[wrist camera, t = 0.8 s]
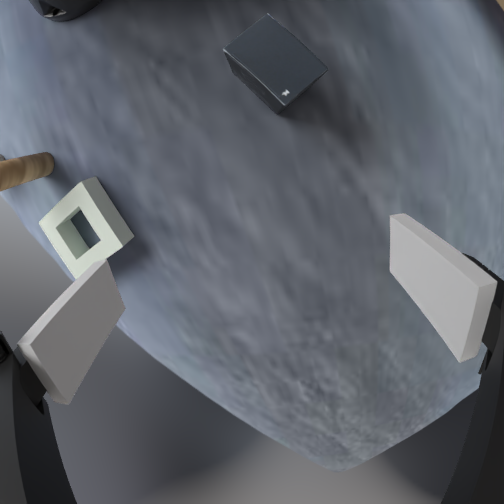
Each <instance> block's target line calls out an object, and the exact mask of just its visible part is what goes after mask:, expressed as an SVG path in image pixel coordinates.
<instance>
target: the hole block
mask: <svg viewBox="0 0 504 504" xmlns="http://www.w3.org/2000/svg"><path fill="white" fill-rule="evenodd" d="M80 210H82V212H83V214H84V215H85V217H86V218H87V220H88V221H89V223H90V225H91V226H92V228H93V229H94V231H95V232H96V234H97V235H98V237H99V238H100V240H101V241H100V242H98V243H97V244H96V245H94V246H93V247H92V248H91V249H89V247H88V246H87V244H86V243H85V241H84V240H83V238H82V237H81V235H80V234H79V232H78V231H77V229H76V228H75V226H74V225H73V223H72V221H71V220H70V219H71V218H72V217H73V216H74V215H75V214H77V213H78V212H79V211H80ZM39 224H40V226H41V227H42V229H43V231H44V232H45V234H46V236H47V237H48V239H49V240H50V242H51V243H52V245H53V246H54V248H55V250H56V251H57V253H58V254H59V256H60V257H61V259H62V260H63V262H64V263H65V264H66V266H67V267H68V269H69V270H70V272H71V273H72V274H73V276H74V277H75V279H76V280H77V279H78V278H79V277H80V276H81V275H82V274H83V273H84V272H85V271H86V270H87V269H88V268H89V267H90V266H91V265H92V264H93V263H94V262H96V261H102V260H105V259H106V258H108V257H109V256H111V255H112V254H113V253H115V252H116V251H118V250H119V249H121V248H122V247H123V246H124V245H126V244H127V243H128V242H129V241H130V240H131V239H132V238H133V237H134V235H133V233H132V232H131V230H130V229H129V227H128V226H127V224H126V223H125V221H124V220H123V218H122V217H121V215H120V214H119V212H118V211H117V209H116V208H115V206H114V204H113V203H112V201H111V200H110V198H109V197H108V195H107V193H106V192H105V190H104V189H103V187H102V185H101V184H100V182H99V181H98V179H97V177H96V176H95V177H92V178H89V179H86V180H83V181H81V182H80V183H79V184H78V185H76V186H75V187H74V188H73V189H72V190H71V191H70V192H69V193H68V194H67V195H66V196H65V197H64V198H63V199H62V200H61V201H60V202H59V203H58V204H57V205H56V206H54V207H53V208H52V210H51V211H50V212H49V213H48V214H47V215H46V216H45V217H44V218H43V219H42V220H41V221H40V222H39Z"/></svg>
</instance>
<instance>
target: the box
mask: <svg viewBox="0 0 504 504" xmlns="http://www.w3.org/2000/svg"><path fill="white" fill-rule="evenodd" d="M223 51H224V53H225V55H226V57H227V60H228V62H229V64H230V67H231V69H232V72H233V73H234V74H235V75H236V76H237V77H238V78H239V79H240V80H241V81H242V82H243V83H244V84H246V86H248V87H249V88H250V89H251V90H252V91H253V92H254V93H255V94H256V95H257V96H258V97H259V98H260V99H261V100H262V101H263V102H264V103H265V104H266V105H267V106H268V107H269V108H270V109H271V110H272V111H274V112H275V113H276V114H279V113H280V112H281V111H282V110H283V109H285V108H286V107H287V106H288V105H289V104H290V103H291V102H293V101H294V100H295V99H296V98H297V97H298V96H300V95H301V94H302V93H303V92H304V91H306V90H307V89H308V88H309V87H310V86H311V85H313V84H314V83H315V82H316V81H317V80H318V79H319V78H320V77H321V76H322V75H323V74H324V73H325V72H326V71H327V70H328V68H327V67H326V66H325V65H324V64H323V63H322V62H321V61H320V60H319V59H318V58H317V57H316V56H315V55H314V54H313V53H312V52H311V51H310V50H309V49H308V48H307V47H306V46H304V45H303V44H302V43H301V42H300V41H299V40H298V39H297V38H296V37H295V36H294V35H292V34H291V33H290V32H289V31H288V30H287V29H286V28H284V27H283V26H282V25H281V24H280V23H279V22H277V21H276V20H275V19H274V18H273V17H271V16H270V15H269V14H266V15H265V16H263V17H262V18H261V19H259V20H258V21H257V22H255V23H254V24H253V25H252V26H250V27H249V28H248V29H247V30H245V31H244V32H243V33H242V34H240V35H239V36H238V37H236V38H235V39H234V40H233V41H231V42H230V43H229V44H228V45H227V46H225V47H224V48H223Z"/></svg>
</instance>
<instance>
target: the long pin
mask: <svg viewBox="0 0 504 504" xmlns="http://www.w3.org/2000/svg"><path fill="white" fill-rule="evenodd" d="M53 168H54V160H53V157H52V155H51V154H50V153H48V152H43V153H38V154H33V155H28V156H23V157H19V158H14V159H10V160H5V161H1V162H0V191H3V190H6V189H8V188H11V187H14V186H17V185H20V184H23V183H26V182H29V181H32V180H35V179H38V178H42V177H45V176H48V175H50V174H51V173H52V171H53Z"/></svg>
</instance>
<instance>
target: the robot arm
mask: <svg viewBox="0 0 504 504" xmlns="http://www.w3.org/2000/svg"><path fill="white" fill-rule="evenodd" d="M29 1H30V3H31V4H32V5H33V7H34V8H35V9H36V11H37V12H38V13H39V14H40V15H41V16H43V17H45V18H48V19H50V20H53V21H67V20H70V19H73V18H76V17H78V16H80V15H82V14H84V13H86V12H87V11H89V10H90V9H92V8H93V7H94V6H96V5H97V4H98V3H99V2H101V1H102V0H29ZM390 272H391V273H392V274H393V276H394V277H395V278H396V279H397V281H398V282H399V283H400V284H401V285H402V287H403V288H404V289H405V290H406V292H407V293H408V294H409V295H410V297H411V298H412V299H413V300H414V302H415V303H416V304H417V306H418V307H419V308H420V309H421V311H422V312H423V313H424V315H425V316H426V317H427V319H428V320H429V321H430V323H431V324H432V325H433V327H434V328H435V329H436V331H437V332H438V333H439V335H440V336H441V338H442V339H443V340H444V342H445V343H446V344H447V346H448V347H449V349H450V350H451V352H452V353H453V354H454V356H455V357H456V359H457V360H458V362H459V363H460V362H463V361H465V360H468V359H470V358H473V357H476V356H477V354H478V351H479V348H480V345H481V342H483V343H484V344H485V345H486V347H487V348H488V349H487V352H486V354H485V357H484V360H483V363H482V365H481V368H480V370H479V373H478V374H481V373H482V375H481V380H480V385H479V390H478V395H477V399H476V404H475V408H474V412H473V415H472V419H471V423H470V426H469V430H468V433H467V437H466V440H465V443H464V446H463V449H462V452H461V455H460V458H459V461H458V463H457V466H456V469H455V471H454V474H453V476H452V479H451V481H450V484H449V486H448V489H447V491H446V493H445V495H444V498H443V500H442V502H441V504H504V281H503V280H502V279H501V278H499V277H498V276H497V275H496V274H494V273H493V272H492V271H491V270H488V268H487V267H486V266H484V265H482V263H480V262H479V261H478V260H476V259H475V258H474V257H471V256H469V255H467V254H464V253H461V252H459V251H458V250H457V249H455V248H454V247H453V246H451V245H450V244H448V243H447V242H446V241H444V240H443V239H441V238H440V237H439V236H437V235H436V234H434V233H433V232H432V231H430V230H429V229H427V228H426V227H424V226H423V225H421V224H420V223H418V222H417V221H416V220H414V219H413V218H411V217H409V216H408V215H406V214H405V213H403V214H396V215H390ZM125 309H126V308H125V306H124V303H123V301H122V298H121V296H120V293H119V291H118V288H117V285H116V283H115V280H114V277H113V274H112V272H111V269H110V266H109V263H108V260H102V261H96V262H94V263H93V264H92V265H91V266H90V267H89V268H88V269H87V270H86V271H85V272H84V273H83V274H82V275H81V276H80V277H79V278H78V279H77V280H76V281H75V282H74V283H73V284H72V285H71V286H70V287H69V288H68V289H67V290H66V291H65V292H64V293H63V294H62V295H61V296H60V297H59V298H58V299H57V300H56V301H55V302H54V303H53V304H52V305H51V306H50V307H49V309H47V311H46V312H45V313H44V314H43V315H42V316H41V317H40V318H39V319H38V320H37V321H36V323H35V324H34V325H33V326H32V327H31V328H30V329H29V330H28V332H27V333H26V334H25V335H24V336H23V337H22V338H21V340H20V341H19V342H18V343H17V346H18V347H17V348H16V349H15V350H14V351H12V349H11V347H10V346H9V344H8V342H7V341H6V339H5V337H4V335H3V334H2V331H0V504H77V502H76V500H75V497H74V495H73V492H72V489H71V486H70V484H69V481H68V478H67V475H66V472H65V469H64V466H63V463H62V459H61V456H60V453H59V449H58V445H57V442H56V438H55V434H54V430H53V426H52V422H51V417H50V413H49V407H48V404H47V402H46V400H45V399H44V398H43V396H44V394H45V393H46V391H47V392H48V394H49V395H50V396H51V398H52V399H53V400H54V402H56V403H62V404H69V403H70V402H71V400H72V398H73V396H74V394H75V393H76V391H77V389H78V387H79V385H80V384H81V382H82V380H83V378H84V377H85V374H86V373H87V371H88V370H89V368H90V366H91V364H92V363H93V361H94V359H95V357H96V356H97V354H98V352H99V351H100V349H101V347H102V346H103V344H104V342H105V341H106V339H107V337H108V336H109V334H110V333H111V331H112V329H113V328H114V326H115V324H116V323H117V321H118V320H119V318H120V317H121V315H122V313H123V312H124V310H125Z"/></svg>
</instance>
